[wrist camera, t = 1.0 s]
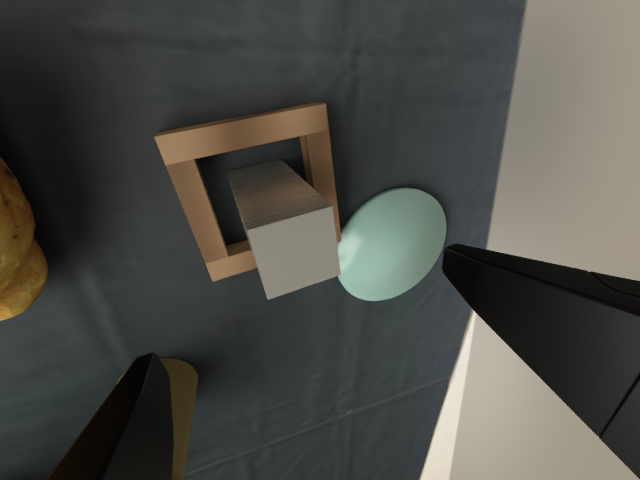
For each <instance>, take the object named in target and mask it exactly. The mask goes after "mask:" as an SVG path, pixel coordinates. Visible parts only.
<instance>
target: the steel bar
mask: <svg viewBox="0 0 640 480" xmlns="http://www.w3.org/2000/svg"><path fill="white" fill-rule="evenodd" d="M227 175H228V178H229V181H230V184H231V188H232V191H233V194H234V198H235V201H236V204H237V208H238V211H239V214H240V218H241V221H242V224H243V227H244V230H245V233H246V236H247V239H248V242H249V245H250V248H251V251H252V254H253V257H254V260H255V263H256V266H257V269H258V272H259V275H260V278H261V281H262V284H263V287H264V290H265V293H266V296H267V299H268V300H269V299H272V298H275V297H277V296H280V295H283V294H286V293H289V292H292V291H295V290H298V289H301V288H304V287H306V286H309V285H312V284H315V283H318V282H321V281H324V280H327V279H330V278H333V277H336V276H338V275H341V271H340V263H339V255H338V247H337V239H336V231H335V223H334V214H333V206H332V205H331V204H330V203H328V202H327V201H326V200H325V199H324V198H323V197H322V196H321V195H320V194H319V193H318V192H316V191H315V190H314V189H313V188H312V187H311V186H310V185H309V184H308V183H307V182H306V181H304V180H303V179H302V178H301V177H300V176H299V175H298V174H297V173H296V172H295V171H293V170H292V169H291V168H290V167H289V166H288V165H287V164H286V163H285V162H284V161H283V160H281V159H278V160H274V161H270V162H265V163H261V164H257V165H253V166H248V167H244V168H240V169H235V170H231V171H227Z"/></svg>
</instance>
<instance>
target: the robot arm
mask: <svg viewBox="0 0 640 480" xmlns="http://www.w3.org/2000/svg"><path fill="white" fill-rule="evenodd" d="M442 270H443V273H444V274H445V276H446V277H447V278H448V280H449V281H450V282H451V283H452V284H453V286H454V287H455V288H456V289H457V291H458V292H459V293H460V294H461V296H462V297H463V298H464V299H465V301H466V302H467V303H468V304H469V305H470V307H471V308H472V309H473V310H474V311H475V312H476V313H477V314H478V315H479V316H480V317H481V318H482V319H483V320H484V321H485V322H486V323H487V324H488V325H489V326H490V327H491V328H492V329H493V330H494V331H495V332H496V334H497V335H498V336H499V337H500V338H501V339H502V340H503V341H504V342H505V343H506V344H508V346H509V347H510V348H511V349H512V350H513V351H514V352H515V353H516V354H517V355H518V356H519V357H520V358H521V359H522V360H523V361H524V362H525V363H526V364H527V365H528V366H529V367H530V368H531V369H532V370H533V371H534V372H535V373H536V374H537V375H538V376H539V377H540V378H541V379H542V380H543V381H544V382H545V383H546V384H547V385H548V386H549V387H550V388H551V389H552V390H553V391H554V392H555V393H556V394H557V395H558V396H559V397H560V398H561V399H562V400H563V402H564V403H566V404H567V406H569V408H570V409H571V410H572V411H573V412H574V413H575V414H576V415H577V416H578V417H579V418H580V419H581V420H582V421H583V422H584V423H585V424H586V425H587V426H588V427H589V428H590V429H591V430H592V431H593V432H594V433H595V434H596V435H597V436H599V438H600V439H601V440H602V441H603V442H604V443H605V444H606V445H607V446H608V447H609V448H610V449H611V450H612V451H613V453H614V454H615V455H617V456H618V458H619V459H620V460H621V461H623V463H624V464H625V465H626V466H627V467H628V468H629V469H630V470H631V471H632V472H633V473H634V474H635V475H636V476H637V477H638V478H639V479H640V281H636V280H630V279H625V278H620V277H615V276H610V275H605V274H600V273H596V272H588V271H585V270H581V269H576V268H571V267H567V266H562V265H557V264H552V263H547V262H543V261H538V260H533V259H528V258H523V257H518V256H514V255H509V254H504V253H499V252H495V251H490V250H485V249H480V248H475V247H471V246H466V245H461V244H453V245H450V246H447V247H446V248H445V249H444V251H443V261H442ZM173 449H174V432H173V416H172V402H171V387H170V377H169V373H168V371H167V369H166V368H165V366H164V365H163V363H162V362H161V360H160V358H159V357H158V355H157V354H156V353H154V352H151V353H148V354H145V355H142V356H140V357H138V358H136V359H135V360H134V362H133V363H132V364H131V366H130V367H129V369H128V370H127V371H126V373H125V374H124V375H123V377H122V378H121V379H120V381H119V382H118V383H117V385H116V386H115V387H114V389H113V390H112V392H111V393H110V394H109V396H108V397H107V398H106V400H105V401H104V402H103V404H102V405H101V406H100V408H99V409H98V410H97V412H96V413H95V415H94V416H93V417H92V419H91V420H90V421H89V423H88V424H87V425H86V427H85V428H84V429H83V431H82V432H81V434H80V435H79V436H78V438H77V439H76V440H75V442H74V443H73V444H72V446H71V447H70V448H69V450H68V451H67V452H66V454H65V455H64V457H63V458H62V459H61V461H60V462H59V463H58V465H57V466H56V467H55V469H54V470H53V471H52V473H51V474H50V475H49V477H48V478H47V480H172V470H173Z"/></svg>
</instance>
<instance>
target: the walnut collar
mask: <svg viewBox="0 0 640 480" xmlns="http://www.w3.org/2000/svg"><path fill="white" fill-rule="evenodd" d="M298 136H299V137H300V143H301V149H302V156H303V162H304V168H305V174H306V180H307V183H308V184H309V185H310V186H311V187H312V188H313V189H314V190H315V191H316V192H318V193H319V194H320V195H321V196H322V197H323V198H324V199H325V200H326V201H327V202H328V203H330V204H331V205H332V206H333V214H334V223H335V231H336V239H337V242H340V241H341V232H340V223H339V215H338V206H337V197H336V188H335V179H334V170H333V162H332V153H331V144H330V135H329V126H328V118H327V109H326V103H320V102H314V103H309V104H303V105H298V106H293V107H288V108H282V109H277V110H272V111H267V112H261V113H256V114H251V115H246V116H241V117H235V118H230V119H225V120H220V121H214V122H209V123H204V124H199V125H193V126H188V127H183V128H178V129H172V130H167V131H162V132H157V134H156V135H155V136H154V138H155V140H156V143H157V145H158V148H159V150H160V153H161V155H162V158H163V160H164V162H165V165H166V167H167V170H168V172H169V175H170V177H171V180H172V182H173V185H174V187H175V190H176V192H177V195H178V197H179V199H180V202H181V204H182V207H183V209H184V212H185V214H186V217H187V219H188V222H189V224H190V227H191V229H192V231H193V234H194V236H195V239H196V241H197V244H198V246H199V249H200V251H201V254H202V256H203V259H204V261H205V263H206V266H207V268H208V271H209V273H210V276H211V278H212V281H216V280H220V279H223V278H226V277H229V276H232V275H235V274H239V273H242V272H245V271H248V270H251V269H255V268H257V266H256V263H255V260H254V257H253V254H252V251H251V248H250V245H249V242H248V240H245V241H242V242H238V243H235V244H231V245H228V246H226V243H225V240H224V237H223V235H222V232H221V229H220V226H219V223H218V220H217V217H216V214H215V212H214V209H213V206H212V203H211V200H210V197H209V194H208V192H207V189H206V186H205V183H204V180H203V177H202V174H201V171H200V169H199V166H198V163H197V160H196V159H197V158H201V157H206V156H211V155H215V154H220V153H225V152H229V151H234V150H238V149H243V148H248V147H252V146H257V145H261V144H266V143H271V142H275V141H280V140H284V139H289V138H294V137H298Z"/></svg>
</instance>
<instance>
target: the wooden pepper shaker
mask: <svg viewBox="0 0 640 480" xmlns="http://www.w3.org/2000/svg"><path fill="white" fill-rule="evenodd" d="M160 360H161V362H162V363H163V365H164V366H165V368H166V369H167V371H168V373H169V377H170V387H171V402H172V416H173V432H174V449H173V470H172V480H183V476H184V470H185V463H186V457H187V450H188V443H189V437H190V430H191V424H192V417H193V411H194V404H195V398H196V391H197V385H198V374H197V372H196V371H195V369H194V367H192V366H191V365H190V364H188V363H187V362H185V361H181V360H178V359H173V358H160ZM125 373H126V371H125ZM125 373H124V374H125ZM124 374H123V375H124ZM123 375H122V376H121V377H120V378H119V379H118V382H119V381H120V379H121V378H122V377H123ZM118 382H117V383H118Z"/></svg>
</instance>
